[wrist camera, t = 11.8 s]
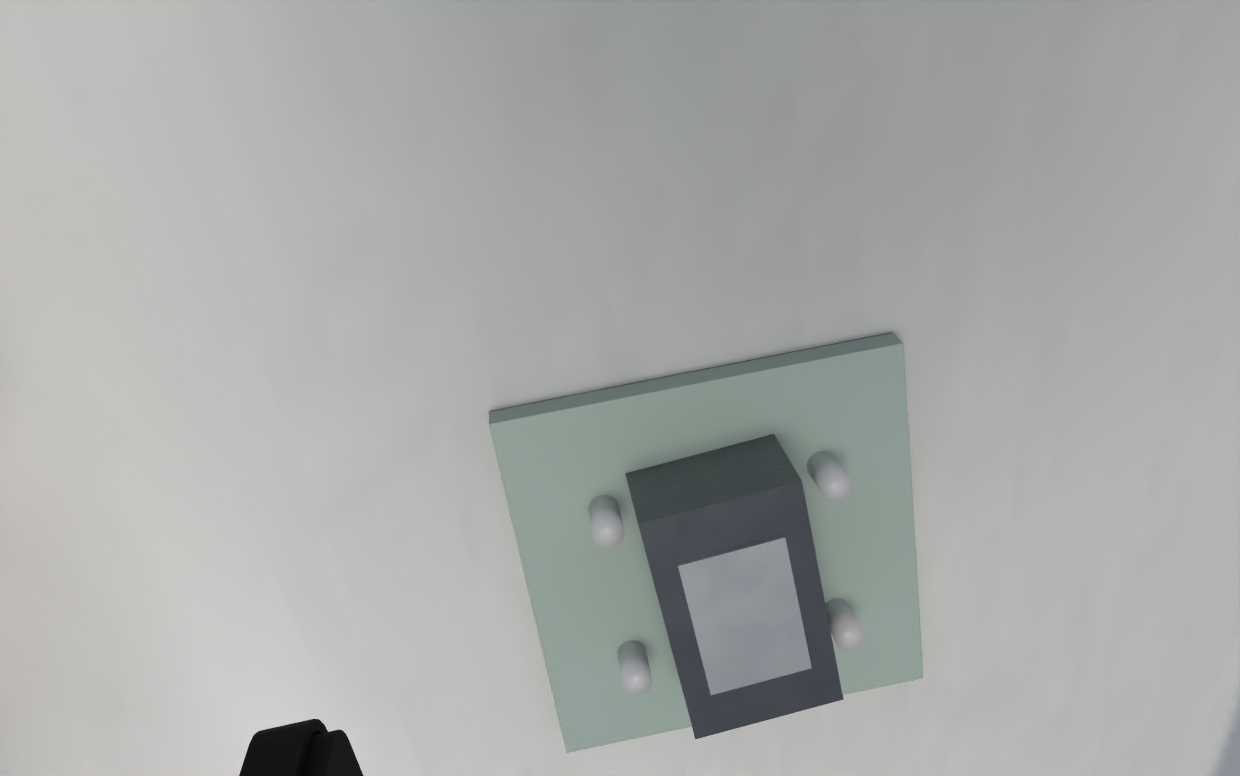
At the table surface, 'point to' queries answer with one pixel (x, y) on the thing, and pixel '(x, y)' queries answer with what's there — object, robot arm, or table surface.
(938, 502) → the table surface
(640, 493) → the block
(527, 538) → the pin tray
